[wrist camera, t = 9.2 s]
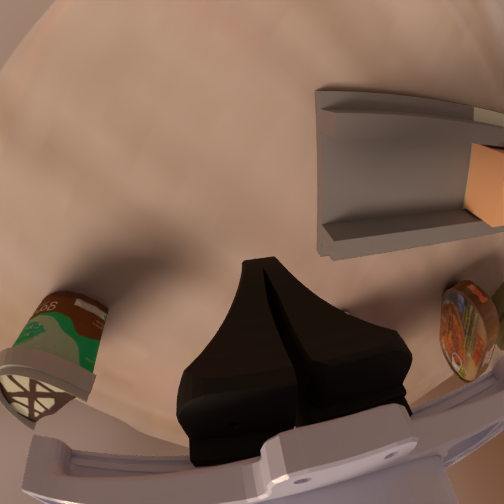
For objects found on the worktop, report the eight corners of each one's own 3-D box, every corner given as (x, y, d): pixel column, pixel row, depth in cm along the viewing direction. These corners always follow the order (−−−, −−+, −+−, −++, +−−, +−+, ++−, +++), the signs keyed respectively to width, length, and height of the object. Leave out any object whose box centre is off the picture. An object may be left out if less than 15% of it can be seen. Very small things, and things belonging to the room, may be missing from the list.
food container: (63, 253, 21) (9, 343, 12) (118, 300, 24) (90, 399, 15) (13, 320, 24) (-23, 394, 15) (57, 354, 26) (32, 431, 18)
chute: (496, 223, 25) (517, 238, 22) (316, 250, 24) (331, 275, 21) (513, 116, 19) (538, 125, 16) (314, 90, 17) (335, 92, 14)
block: (499, 203, 22) (526, 221, 19) (463, 206, 22) (492, 227, 18) (509, 146, 19) (539, 159, 16) (472, 141, 19) (506, 155, 15)
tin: (442, 274, 27) (488, 327, 20) (463, 262, 27) (510, 310, 20) (437, 351, 35) (465, 395, 28) (454, 341, 35) (483, 383, 28)
